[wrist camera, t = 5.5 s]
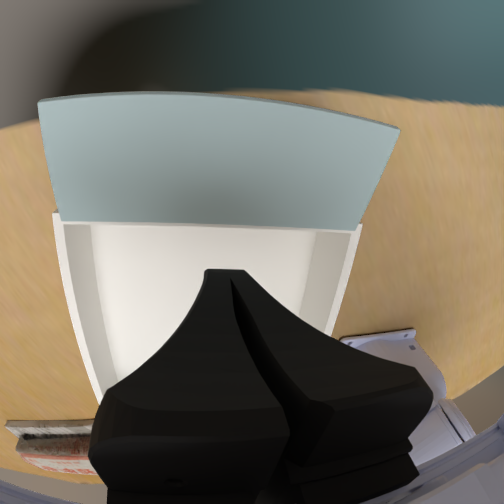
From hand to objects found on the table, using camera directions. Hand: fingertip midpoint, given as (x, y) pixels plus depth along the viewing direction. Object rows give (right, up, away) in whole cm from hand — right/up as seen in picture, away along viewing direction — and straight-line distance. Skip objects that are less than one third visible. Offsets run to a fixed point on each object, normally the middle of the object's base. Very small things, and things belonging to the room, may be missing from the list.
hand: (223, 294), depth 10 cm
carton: (-3, -4, +13) cm, 14 cm away
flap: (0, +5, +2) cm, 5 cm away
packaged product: (-22, -23, +19) cm, 37 cm away
